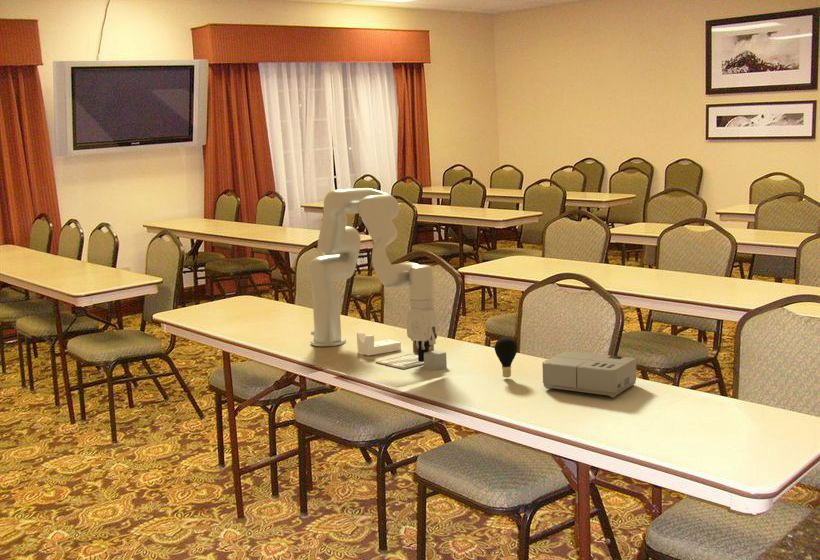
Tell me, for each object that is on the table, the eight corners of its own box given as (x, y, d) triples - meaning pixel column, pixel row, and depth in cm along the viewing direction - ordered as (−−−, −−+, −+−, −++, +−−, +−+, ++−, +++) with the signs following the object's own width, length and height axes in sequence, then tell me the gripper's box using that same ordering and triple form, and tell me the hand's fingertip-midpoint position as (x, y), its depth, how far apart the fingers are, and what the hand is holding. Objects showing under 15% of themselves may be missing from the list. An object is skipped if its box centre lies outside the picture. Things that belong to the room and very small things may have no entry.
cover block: (423, 352, 272) (434, 355, 268) (435, 350, 275) (446, 352, 271) (424, 368, 273) (434, 370, 269) (435, 365, 276) (446, 368, 272)
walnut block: (413, 353, 295) (412, 336, 294) (424, 350, 298) (423, 333, 297) (422, 355, 291) (422, 337, 290) (434, 352, 294) (433, 335, 293)
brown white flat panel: (375, 362, 282) (375, 361, 282) (412, 354, 292) (412, 353, 292) (403, 369, 272) (403, 368, 272) (440, 360, 282) (440, 359, 282)
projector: (614, 398, 232) (614, 370, 230) (540, 388, 244) (540, 361, 243) (638, 384, 245) (638, 357, 244) (566, 375, 258) (566, 350, 257)
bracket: (368, 358, 291) (367, 336, 289) (357, 354, 296) (356, 333, 295) (401, 352, 297) (400, 330, 296) (390, 349, 303) (389, 328, 302)
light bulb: (522, 377, 257) (522, 337, 255) (506, 381, 252) (505, 341, 251) (506, 373, 262) (505, 334, 260) (490, 377, 258) (489, 337, 256)
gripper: (397, 303, 277) (399, 359, 279) (428, 308, 265) (430, 366, 268) (415, 300, 281) (417, 355, 284) (446, 305, 270) (448, 362, 273)
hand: (423, 360), depth 276 cm, fingers closed
